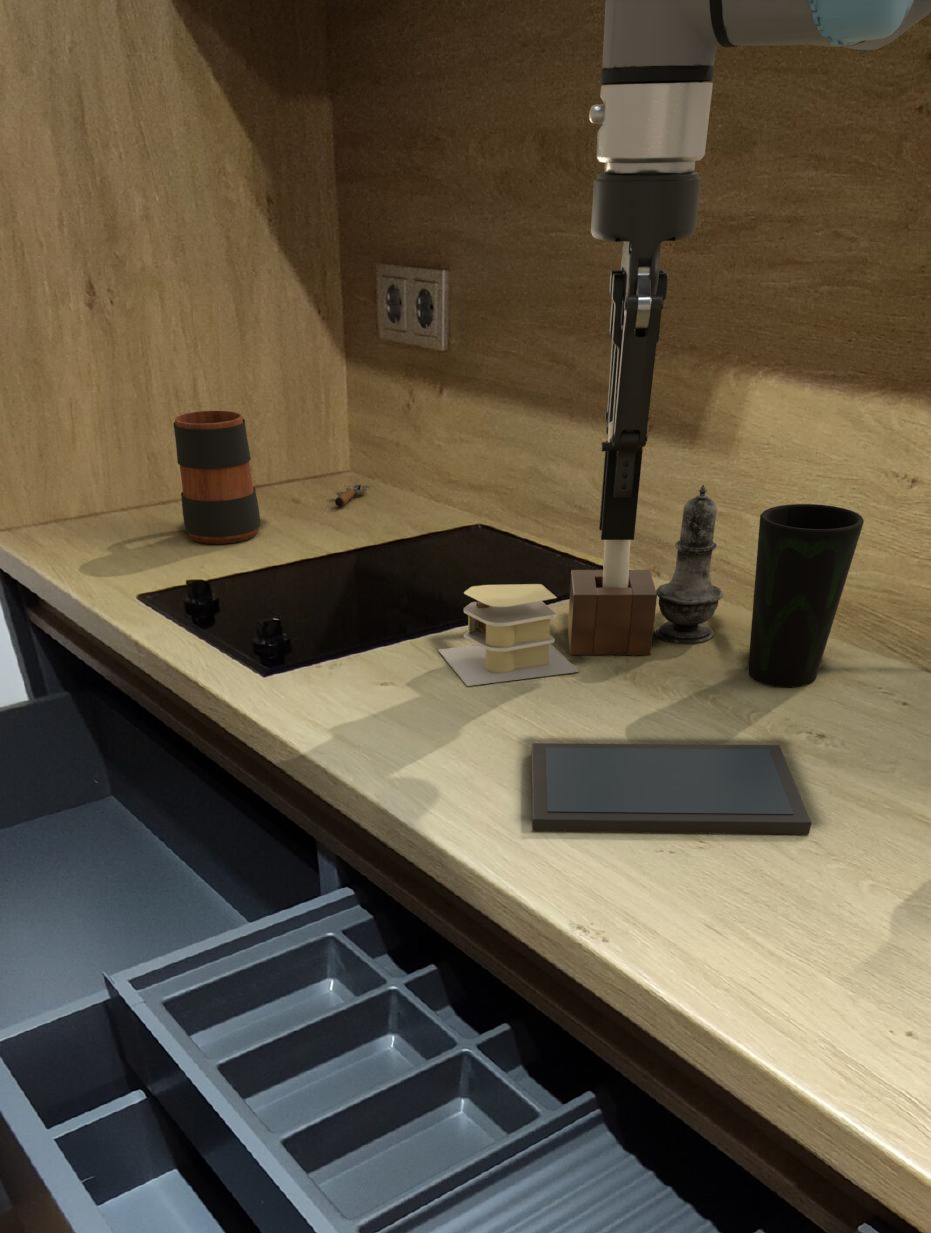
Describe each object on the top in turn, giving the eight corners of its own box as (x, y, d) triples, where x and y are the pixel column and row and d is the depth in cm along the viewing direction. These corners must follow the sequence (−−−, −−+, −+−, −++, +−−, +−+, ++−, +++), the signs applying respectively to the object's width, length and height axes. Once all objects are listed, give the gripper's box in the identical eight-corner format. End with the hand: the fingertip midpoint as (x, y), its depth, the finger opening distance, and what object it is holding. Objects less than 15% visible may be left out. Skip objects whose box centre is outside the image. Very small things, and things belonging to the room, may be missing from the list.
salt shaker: (640, 637, 100) (655, 488, 92) (669, 618, 104) (686, 473, 96) (700, 649, 97) (721, 497, 89) (727, 629, 101) (750, 481, 93)
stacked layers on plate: (543, 637, 100) (546, 572, 97) (579, 672, 94) (584, 603, 90) (437, 650, 99) (436, 584, 95) (467, 686, 92) (467, 617, 88)
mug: (230, 514, 134) (216, 401, 126) (274, 537, 126) (261, 418, 119) (163, 526, 131) (144, 410, 123) (204, 550, 123) (186, 428, 115)
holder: (644, 627, 102) (650, 569, 98) (650, 655, 97) (657, 594, 93) (567, 627, 102) (571, 569, 99) (570, 654, 97) (573, 594, 94)
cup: (735, 655, 96) (760, 501, 88) (826, 660, 95) (859, 505, 87) (734, 689, 91) (761, 528, 82) (831, 694, 89) (868, 531, 81)
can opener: (343, 508, 135) (342, 497, 134) (325, 506, 136) (324, 496, 135) (371, 490, 141) (370, 480, 140) (354, 489, 142) (354, 479, 141)
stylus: (625, 625, 100) (635, 418, 89) (626, 633, 98) (637, 424, 87) (600, 626, 100) (607, 420, 89) (601, 634, 98) (609, 425, 87)
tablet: (777, 756, 81) (780, 743, 80) (809, 834, 72) (812, 821, 71) (531, 754, 82) (531, 741, 81) (532, 831, 73) (532, 818, 73)
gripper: (589, 165, 84) (568, 510, 99) (600, 173, 72) (574, 560, 88) (690, 163, 83) (653, 509, 99) (716, 170, 72) (669, 560, 88)
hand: (616, 533), depth 94 cm, fingers closed on stylus, 2 cm apart
